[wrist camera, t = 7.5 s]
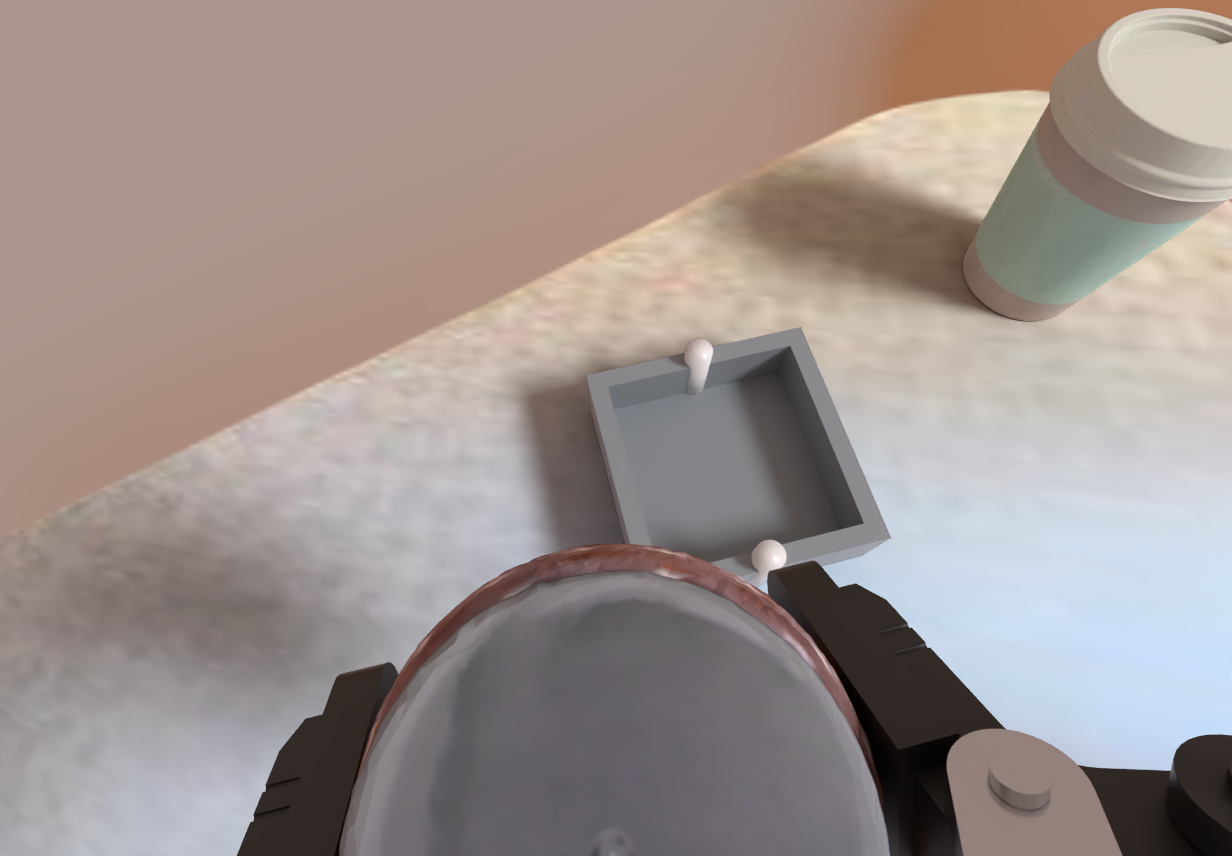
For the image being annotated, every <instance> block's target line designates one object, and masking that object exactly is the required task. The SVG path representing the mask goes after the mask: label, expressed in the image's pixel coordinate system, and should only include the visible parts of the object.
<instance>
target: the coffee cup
mask: <svg viewBox="0 0 1232 856" xmlns="http://www.w3.org/2000/svg"><path fill="white" fill-rule="evenodd" d="M1229 199H1232V20H1231V19H1228V18H1225V17H1221V16H1219V15H1215V14H1211V13H1207V12H1202V11H1197V10H1189V9H1180V8H1160V9H1151V10H1145V11H1141V12H1136V13H1133V14H1131V15H1128V16H1125V17H1124V18H1121V19H1119V20H1118V21H1116V22H1115V23H1113V24H1112V25H1111V26H1109V27H1108V28H1107V29H1106V30H1105V31H1104V32H1103V33H1102V34H1101V35H1100V36H1098V37H1097V38H1096V39H1095V40H1093V41H1091V42H1090V43H1088V44H1086V45H1085V46H1083V47H1082V48H1081V49H1079V50H1078V51H1077V52H1076V53H1075V54H1074V55H1073V56H1072V58H1071V59H1070V60H1069V61H1068V62H1067V63H1066V64H1065V65H1064V66H1063V67H1062V68H1061V69H1060V70H1059V71H1058V73H1057V74H1056V76H1055V78H1054V80H1053V83H1052V86H1051V90H1050V102H1049V104H1048V106H1047V108H1046V109H1045V111H1044V113H1043V115H1042V116H1041V118H1040V120H1039V122H1038V124H1037V125H1036V127H1035V129H1034V131H1033V132H1032V134H1031V136H1030V138H1029V140H1028V141H1027V143H1026V145H1025V147H1024V149H1023V150H1022V152H1021V154H1020V156H1019V158H1018V159H1017V161H1016V163H1015V165H1014V167H1013V168H1012V170H1011V172H1010V174H1009V175H1008V177H1007V179H1006V181H1005V183H1004V184H1003V186H1002V188H1001V190H1000V192H999V193H998V195H997V197H996V199H995V201H994V202H993V204H992V206H991V208H990V210H989V211H988V213H987V215H986V217H985V218H984V220H983V222H982V224H981V226H980V227H979V229H978V231H977V233H976V235H975V237H974V239H973V240H972V242H971V244H970V246H969V248H968V249H967V251H966V253H965V256H964V259H963V273H964V277H965V280H966V282H967V284H968V286H969V288H970V290H971V291H972V292H973V294H974V295H975V296H976V297H977V298H978V299H979V300H980V301H981V302H982V303H983V304H985V305H986V306H987V307H989V308H990V309H992V310H993V311H995V312H997V313H999V314H1002V315H1004V316H1007V317H1010V318H1013V319H1017V320H1024V321H1040V320H1045V319H1049V318H1052V317H1054V316H1056V315H1058V314H1060V313H1061V312H1063V311H1064V310H1066V309H1067V308H1069V307H1070V306H1072V305H1073V304H1075V303H1076V302H1078V301H1079V300H1081V299H1082V298H1084V297H1085V296H1087V295H1088V294H1090V293H1091V292H1093V291H1094V290H1096V289H1097V288H1099V287H1100V286H1102V285H1103V284H1105V283H1106V282H1108V281H1109V280H1111V279H1112V278H1113V277H1115V276H1116V275H1118V274H1119V273H1121V272H1122V271H1124V270H1125V269H1127V268H1128V267H1130V266H1131V265H1133V264H1134V263H1136V262H1137V261H1139V260H1140V259H1142V258H1143V257H1144V256H1146V255H1147V254H1149V253H1150V252H1152V251H1153V250H1155V249H1156V248H1158V247H1159V246H1161V245H1162V244H1164V243H1165V242H1167V241H1168V240H1170V239H1171V238H1173V237H1174V236H1175V235H1177V234H1178V233H1180V232H1181V231H1183V230H1184V229H1186V228H1187V227H1189V226H1190V225H1192V224H1193V223H1195V222H1196V221H1198V220H1199V219H1201V218H1202V217H1204V216H1205V215H1206V214H1208V213H1209V212H1211V211H1212V210H1214V209H1215V208H1217V207H1218V206H1219V205H1221V204H1222V203H1224V202H1225V201H1227V200H1229Z"/></svg>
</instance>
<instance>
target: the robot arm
mask: <svg viewBox="0 0 1232 856" xmlns="http://www.w3.org/2000/svg"><path fill="white" fill-rule="evenodd" d="M767 584H768V595H769V596H770V597H771V599H772V600H773V601H774V602H775V603H777V604H778V605H779V606H781V607H782V608H783V609H785V610H786V611H787V612H788V613H789V614H790V615H791V616H792V617H793V618H794V619H795V621H796V622H797V623H798V624H799V625H800V626H801V628H802V629H803V630H804V631H805V632H806V633H807V634H808V635H809V636H811V638H812V640H813V641H814V642H815V643H816V645H817V647H818V649H819V650H820V651H821V652H822V653H823V654H824V656H825V657H826V659H827V660H828V662H829V663H830V665H831V666H832V667H833V669H834V670H835V672H836V674H837V676H838V678H839V679H840V681H841V683H842V685H843V687H844V689H845V691H846V693H847V696H848V697H849V699H850V701H851V702H852V704H853V706H854V709H855V711H856V714H857V717H858V719H859V721H860V723H861V725H862V727H863V729H864V731H865V733H866V735H867V737H868V739H869V741H870V748H871V751H872V755H873V759H874V762H875V768H876V771H877V773H878V775H879V778H880V780H881V789H882V794H883V804H884V811H885V824H886V827H887V834H888V841H889V851H890V856H1232V736H1230V735H1204V736H1198V737H1195V738H1192V739H1189V740H1187V741H1186V742H1184V743H1183V744H1181V745H1180V747H1179V748H1178V749H1177V750H1176V753H1175V756H1174V759H1173V764H1172V768H1171V771H1160V770H1134V769H1108V768H1094V767H1085V766H1080V765H1077V764H1076V763H1075V762H1074V761H1073V760H1072V759H1070V758H1069V757H1068V756H1067V755H1066V754H1064V753H1063V752H1061V751H1060V750H1058V749H1057V748H1055V747H1054V746H1052V745H1050V744H1048V743H1046V742H1044V741H1042V740H1041V739H1038V738H1036V737H1033V736H1030V735H1028V734H1024V733H1021V732H1017V731H1012V730H1006V729H1005V728H1004V727H1003V726H1002V725H1001V724H1000V723H999V722H998V721H997V720H996V719H995V717H994V716H993V715H992V714H991V713H990V712H989V711H988V710H987V709H986V708H985V707H984V706H983V704H982V703H981V702H980V701H979V700H978V699H977V698H976V697H975V696H974V695H973V694H972V692H971V691H970V690H969V689H968V688H967V687H966V686H965V685H964V684H963V683H962V682H961V681H960V679H959V678H958V677H957V676H956V675H955V674H954V673H953V672H952V671H951V670H950V669H949V668H948V666H947V665H946V664H945V663H944V662H943V661H942V660H941V659H940V658H939V657H938V656H937V655H936V653H935V652H934V651H933V650H932V649H931V648H927V646H926V644H925V642H924V640H923V639H922V638H921V637H920V636H919V635H918V634H917V633H916V632H915V631H914V630H913V629H912V628H909V627H908V624H907V622H906V621H905V620H904V619H903V618H902V617H901V616H900V614H899V613H898V612H897V611H896V610H895V609H894V608H893V607H892V606H891V605H890V604H889V603H888V601H887V600H885V599H883V598H882V597H880V596H878V595H876V594H874V593H872V592H870V591H869V590H867V589H865V588H863V587H861V586H859V585H858V584H852V585H848V586H844V587H840V588H839V587H838V586H837V585H836V584H835V583H834V581H833V580H832V579H831V578H830V577H829V575H828V574H827V573H826V572H825V571H824V569H823V568H822V567H821V566H820V565H819V564H818V563H817V562H816V561H814V560H813V561H808V562H804V563H800V564H796V565H791V566H787V567H783V568H779V569H775V570H771V571H769V572H768V576H767ZM397 677H398V672H397V670H396V668H395V667H394V665H393V664H392V663H389V662H388V663H384V664H380V665H376V666H372V667H368V668H363V669H359V670H355V671H351V672H347V673H343V674H340V675H339V676H337V678H336V679H335V682H334V684H333V687H332V690H331V693H330V695H329V698H328V701H327V704H326V707H325V710H324V712H323V715H319V716H315V717H311V718H307V719H305V720H304V721H303V723H302V724H301V725H300V726H299V728H298V729H297V730H296V731H295V733H294V734H293V735H292V736H291V738H290V739H289V740H288V741H287V742H286V744H285V745H284V746H283V747H282V749H281V750H280V751H279V754H278V756H277V758H276V761H275V763H274V766H273V768H272V771H271V773H270V776H269V778H268V780H267V783H266V785H265V786H266V792H263V793H262V795H261V798H260V800H259V803H258V805H257V807H256V810H255V812H254V822H250V825H249V827H248V830H247V832H246V834H245V837H244V839H243V842H242V844H241V847H240V849H239V852H238V854H237V856H339V847H340V841H341V836H342V832H343V827H344V823H345V818H346V815H347V811H348V808H349V805H350V800H351V795H352V789H353V787H354V785H355V783H356V780H357V778H358V773H359V769H360V766H361V762H362V759H363V755H364V752H365V749H366V745H367V742H368V739H369V736H370V733H371V730H372V727H373V724H374V722H375V720H376V717H377V714H378V713H379V710H380V708H381V706H382V704H383V701H384V699H385V698H386V696H387V694H388V693H389V691H390V690H391V688H392V686H393V684H394V682H395V680H396V678H397Z"/></svg>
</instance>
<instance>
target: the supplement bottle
mask: <svg viewBox="0 0 1232 856" xmlns="http://www.w3.org/2000/svg"><path fill="white" fill-rule="evenodd" d="M339 856H890V851H889V841H888V834H887V827H886V824H885V811H884V804H883V794H882V789H881V780H880V778H879V775H878V773H877V771H876V768H875V762H874V759H873V755H872V751H871V748H870V741H869V739H868V737H867V735H866V733H865V731H864V729H863V727H862V725H861V723H860V721H859V719H858V717H857V714H856V711H855V709H854V706H853V704H852V702H851V701H850V699H849V697H848V696H847V693H846V691H845V689H844V687H843V685H842V683H841V681H840V679H839V678H838V676H837V674H836V672H835V670H834V669H833V667H832V666H831V665H830V663H829V662H828V660H827V659H826V657H825V656H824V654H823V653H822V652H821V651H820V650H819V649H818V647H817V645H816V643H815V642H814V641H813V640H812V638H811V636H809V635H808V634H807V633H806V632H805V631H804V630H803V629H802V628H801V626H800V625H799V624H798V623H797V622H796V621H795V619H794V618H793V617H792V616H791V615H790V614H789V613H788V612H787V611H786V610H785V609H783V608H782V607H781V606H779V605H778V604H777V603H775V602H774V601H773V600H772V599H771V597H770V596H769V595H768V594H766V593H764V592H762V591H761V590H759V589H758V588H756V587H755V586H753V585H751V584H750V583H748V582H747V581H746V580H745V579H743V578H741V577H740V576H738V575H736V574H734V573H732V572H729V571H726V570H724V569H722V568H719V567H718V566H716V565H714V564H712V563H710V562H708V561H706V560H704V559H701V558H698V557H695V556H692V555H689V554H686V553H685V552H680V551H671V550H667V549H665V548H663V547H658V546H644V545H635V544H621V543H616V544H596V545H584V546H579V547H575V548H570V549H566V550H561V551H558V552H555V553H552V554H548V555H544V556H541V557H538V558H536V559H533V560H532V561H530V562H528V563H525V564H522V565H519V566H516V567H514V568H511V569H509V570H507V571H505V572H503V573H502V574H501V575H499V576H498V577H496V578H495V579H493V580H491V581H489V582H487V583H486V584H484V585H483V586H481V587H480V588H479V589H477V590H476V591H475V592H473V593H472V594H471V595H470V596H468V597H467V598H466V599H465V600H464V601H462V602H461V603H460V604H459V605H458V606H456V607H455V608H454V609H453V610H452V611H451V612H450V613H449V614H448V615H447V616H445V617H444V618H443V619H442V620H441V621H440V622H439V623H438V624H437V625H436V626H435V627H434V628H433V629H432V630H431V631H430V633H429V634H428V635H427V636H426V637H425V638H424V639H423V640H422V641H421V642H420V644H419V645H418V646H417V648H416V650H415V651H414V652H413V654H412V655H411V656H410V658H409V659H408V661H407V662H406V664H405V666H404V667H403V669H402V670H401V672H400V673H399V675H398V677H397V678H396V680H395V682H394V684H393V686H392V688H391V690H390V691H389V693H388V694H387V696H386V698H385V699H384V701H383V704H382V706H381V708H380V710H379V713H378V714H377V717H376V720H375V722H374V724H373V727H372V730H371V733H370V736H369V739H368V742H367V745H366V749H365V752H364V755H363V759H362V762H361V766H360V769H359V773H358V778H357V780H356V783H355V785H354V787H353V789H352V795H351V800H350V805H349V808H348V811H347V815H346V818H345V823H344V827H343V832H342V836H341V841H340V847H339Z"/></svg>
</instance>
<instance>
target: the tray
mask: <svg viewBox="0 0 1232 856" xmlns="http://www.w3.org/2000/svg"><path fill="white" fill-rule="evenodd" d="M586 378H587V388H588V397H589V406H590V411H591V415H592V418H593V422H594V426H595V430H596V434H597V438H598V442H599V446H600V449H601V453H602V457H603V461H604V465H605V469H606V473H607V477H608V480H609V484H610V488H611V492H612V496H613V500H614V504H615V508H616V511H617V515H618V519H619V523H620V527H621V531H622V535H623V539H624V542H625V544H635V545H644V546H658V547H663V548H665V549H667V550H671V551H680V552H685V553H686V554H689V555H692V556H695V557H698V558H701V559H704V560H706V561H708V562H710V563H712V564H714V565H716V566H718V567H719V568H722V569H724V570H726V571H729V572H732V573H734V574H736V575H738V576H740V577H741V578H743V579H745V580H746V581H747V582H748V583H750V584H751V585H753V586H755V587H756V588H758V587H759V586H761V585H762V584H763V583H764V582H765V581H767V576H768V572H769V571H771V570H775V569H779V568H783V567H787V566H791V565H796V564H800V563H804V562H808V561H813V560H814V561H816V562H817V563H818V564H819V565H820V566H824V565H828V564H832V563H836V562H839V561H843V560H847V559H851V558H855V557H859V556H862V555H864V554H866V553H867V552H869V551H870V550H872V549H874V548H875V547H877V546H878V545H880V544H882V543H883V542H885V541H887V540H888V539H890V538H891V537H890V535H889V532H888V530H887V528H886V525H885V523H884V521H883V518H882V516H881V514H880V511H879V509H878V507H877V504H876V502H875V500H874V497H873V495H872V492H871V490H870V488H869V485H868V483H867V481H866V478H865V476H864V474H863V471H862V469H861V467H860V464H859V462H858V460H857V457H856V455H855V453H854V450H853V448H852V446H851V443H850V441H849V439H848V436H847V434H846V432H845V429H844V427H843V425H842V422H841V420H840V418H839V415H838V413H837V411H836V408H835V406H834V404H833V401H832V399H831V397H830V394H829V392H828V390H827V387H826V385H825V383H824V380H823V378H822V376H821V373H820V371H819V369H818V366H817V364H816V362H815V359H814V357H813V355H812V352H811V350H810V348H809V345H808V343H807V341H806V338H805V336H804V334H803V331H802V329H801V327H800V328H795V329H791V330H786V331H782V332H777V333H773V334H768V335H764V336H759V337H755V338H750V339H746V340H741V341H737V342H732V343H728V344H724V345H719V346H715V347H712V345H711V344H710V343H709V342H708V341H706V340H704V339H694V340H692V341H690V342H689V343H688V344H687V346H686V351H685V353H683V354H679V355H674V356H670V357H665V358H661V359H656V360H652V361H647V362H643V363H639V364H634V365H630V366H625V367H621V368H616V369H612V370H607V371H603V372H598V373H594V374H589V375H586Z"/></svg>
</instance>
